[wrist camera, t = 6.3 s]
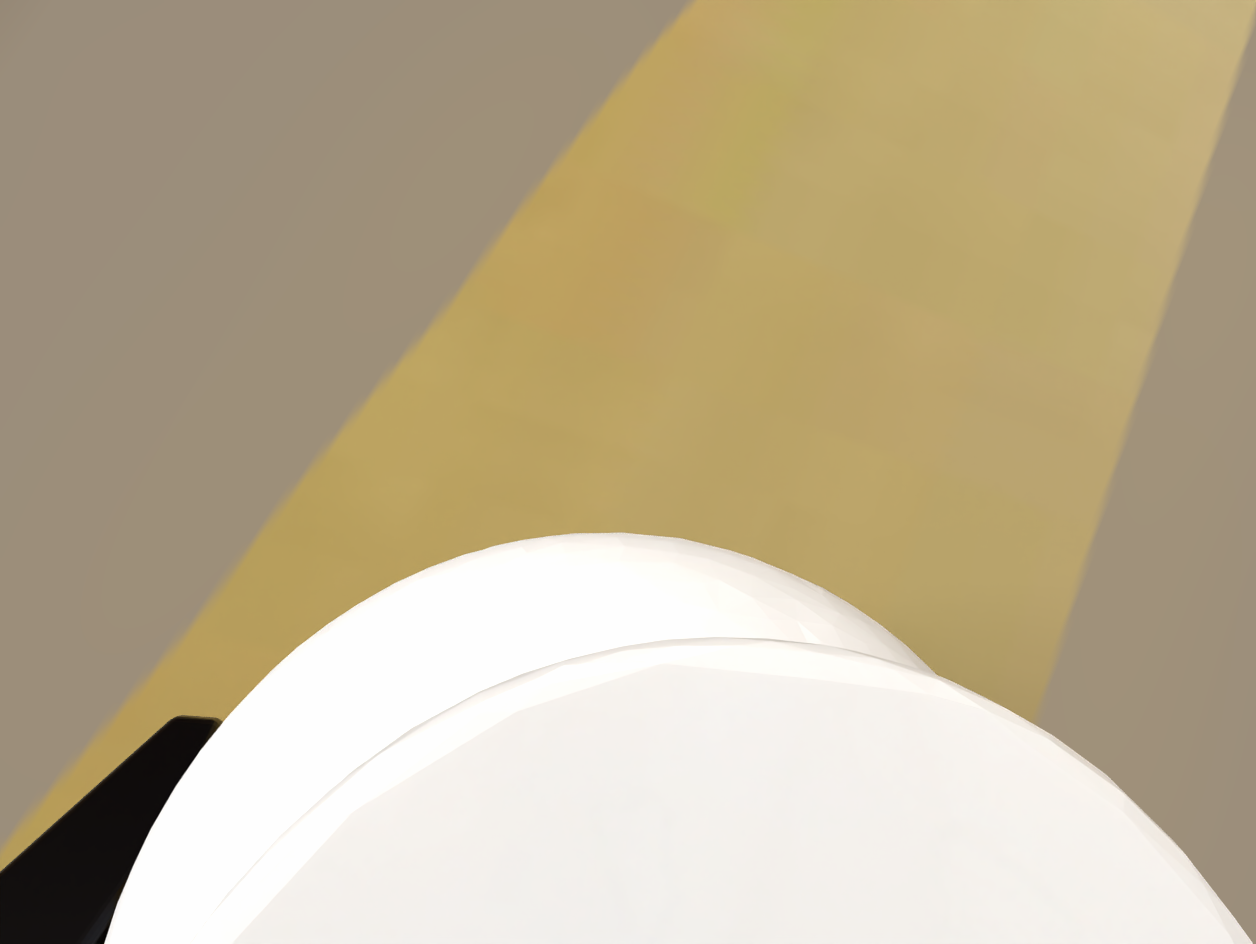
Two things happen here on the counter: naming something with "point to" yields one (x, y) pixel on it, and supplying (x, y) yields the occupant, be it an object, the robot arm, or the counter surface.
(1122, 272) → the counter surface
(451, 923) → the supplement bottle
